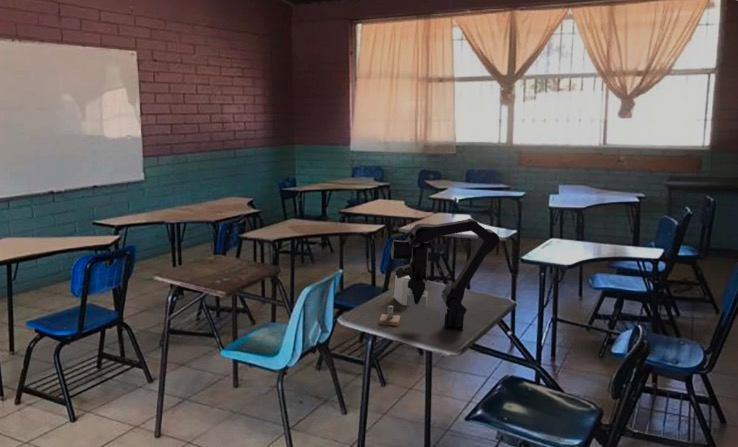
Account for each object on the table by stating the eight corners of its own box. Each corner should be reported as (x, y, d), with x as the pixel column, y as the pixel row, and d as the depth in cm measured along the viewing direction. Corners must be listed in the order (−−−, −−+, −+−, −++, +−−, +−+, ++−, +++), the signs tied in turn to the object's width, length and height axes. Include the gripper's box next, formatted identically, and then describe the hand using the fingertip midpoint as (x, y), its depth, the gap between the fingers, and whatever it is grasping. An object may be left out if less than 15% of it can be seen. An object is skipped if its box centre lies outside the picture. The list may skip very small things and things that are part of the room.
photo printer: (411, 305, 254) (412, 275, 251) (401, 305, 252) (402, 276, 250) (402, 297, 263) (404, 269, 261) (392, 297, 262) (394, 269, 259)
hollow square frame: (427, 301, 230) (427, 290, 230) (425, 307, 224) (426, 296, 223) (408, 299, 231) (408, 289, 231) (406, 305, 225) (407, 295, 224)
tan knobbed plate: (400, 319, 237) (400, 304, 235) (398, 325, 230) (398, 310, 229) (381, 317, 238) (382, 302, 236) (379, 324, 231) (380, 308, 230)
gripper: (400, 251, 234) (397, 291, 238) (394, 264, 216) (392, 306, 219) (429, 253, 233) (427, 293, 236) (426, 266, 215) (423, 309, 218)
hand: (417, 300), depth 227 cm, fingers closed on hollow square frame, 7 cm apart
